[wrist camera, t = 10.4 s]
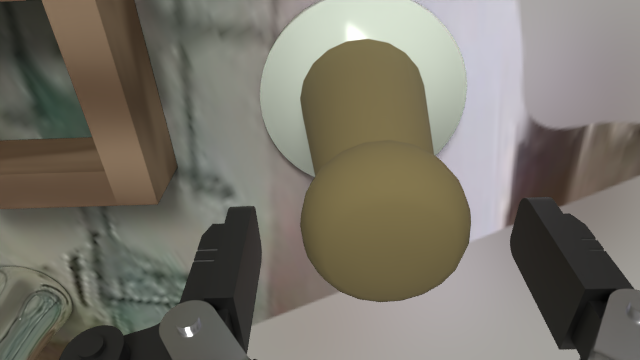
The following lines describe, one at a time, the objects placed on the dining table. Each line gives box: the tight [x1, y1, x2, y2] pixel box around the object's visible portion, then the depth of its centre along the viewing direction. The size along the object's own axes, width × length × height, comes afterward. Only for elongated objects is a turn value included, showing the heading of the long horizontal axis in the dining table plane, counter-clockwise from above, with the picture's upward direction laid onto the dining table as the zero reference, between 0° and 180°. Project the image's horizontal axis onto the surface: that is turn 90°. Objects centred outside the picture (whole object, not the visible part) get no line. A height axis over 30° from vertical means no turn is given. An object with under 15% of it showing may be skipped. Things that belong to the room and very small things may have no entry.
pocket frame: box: [0, 0, 177, 209], centre depth 20 cm, size 12×12×4 cm
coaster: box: [260, 0, 467, 177], centre depth 22 cm, size 10×10×1 cm
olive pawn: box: [300, 39, 471, 302], centre depth 17 cm, size 6×6×11 cm
